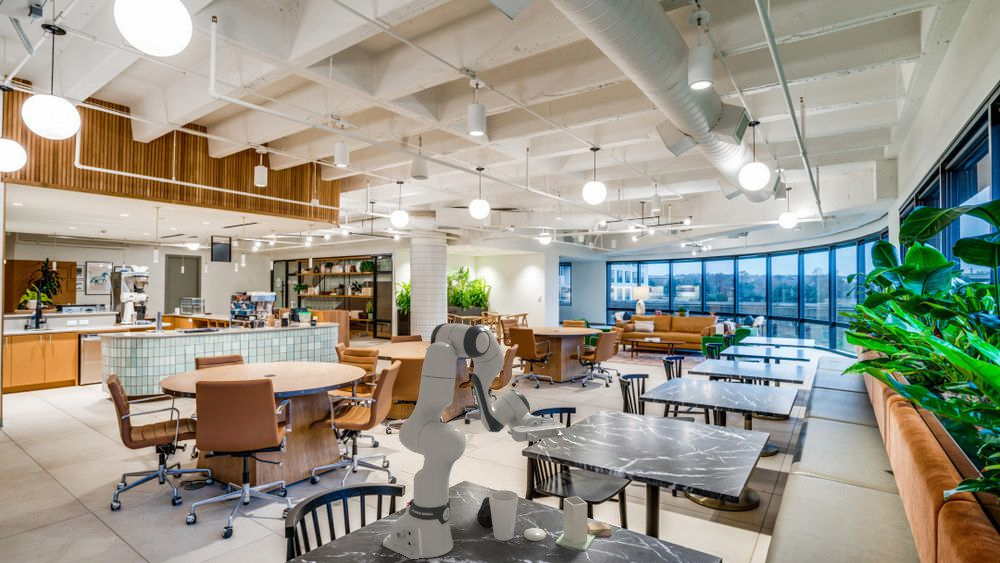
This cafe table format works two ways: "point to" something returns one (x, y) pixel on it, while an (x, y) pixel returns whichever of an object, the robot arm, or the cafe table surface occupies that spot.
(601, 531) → the oak block
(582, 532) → the canister
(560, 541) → the mat
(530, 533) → the white pebble stone
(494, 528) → the foam cup
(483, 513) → the drinking cup
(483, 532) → the cafe table surface
